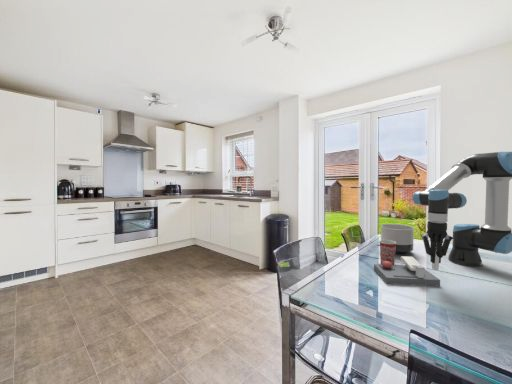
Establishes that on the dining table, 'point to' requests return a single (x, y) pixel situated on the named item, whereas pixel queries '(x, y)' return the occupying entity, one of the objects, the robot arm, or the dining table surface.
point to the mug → (387, 250)
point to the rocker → (410, 262)
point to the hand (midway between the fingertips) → (435, 269)
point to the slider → (420, 271)
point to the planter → (399, 236)
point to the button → (387, 264)
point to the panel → (405, 276)
